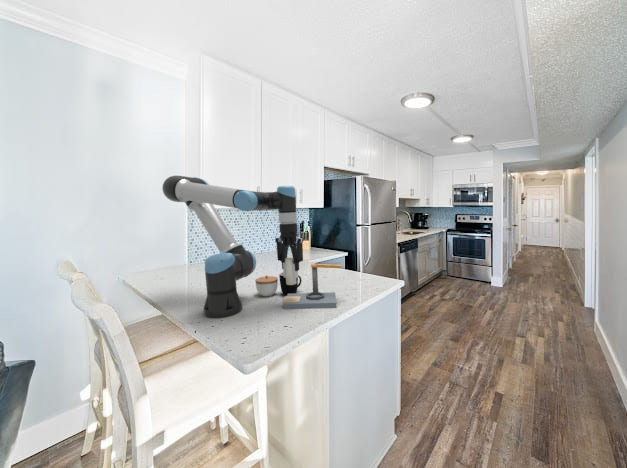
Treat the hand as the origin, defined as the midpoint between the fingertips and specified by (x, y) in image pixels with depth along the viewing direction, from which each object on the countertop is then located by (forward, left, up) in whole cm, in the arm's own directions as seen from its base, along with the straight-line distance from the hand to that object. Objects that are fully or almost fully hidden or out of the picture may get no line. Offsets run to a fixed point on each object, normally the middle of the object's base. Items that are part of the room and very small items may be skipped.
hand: (291, 277), depth 118 cm
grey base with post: (+8, +2, -12) cm, 14 cm away
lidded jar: (-14, +15, -12) cm, 24 cm away
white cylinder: (0, 0, -3) cm, 3 cm away
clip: (+15, +6, +3) cm, 16 cm away
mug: (-2, +16, -12) cm, 20 cm away
